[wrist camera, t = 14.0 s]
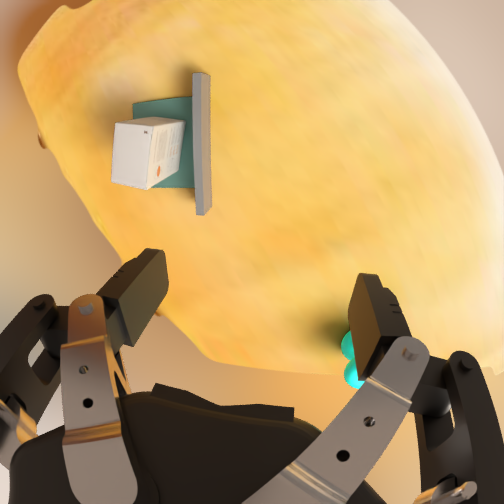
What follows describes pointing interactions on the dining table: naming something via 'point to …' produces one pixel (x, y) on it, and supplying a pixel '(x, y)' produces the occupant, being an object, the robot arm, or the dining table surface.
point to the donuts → (350, 369)
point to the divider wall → (201, 142)
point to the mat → (183, 111)
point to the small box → (146, 151)
